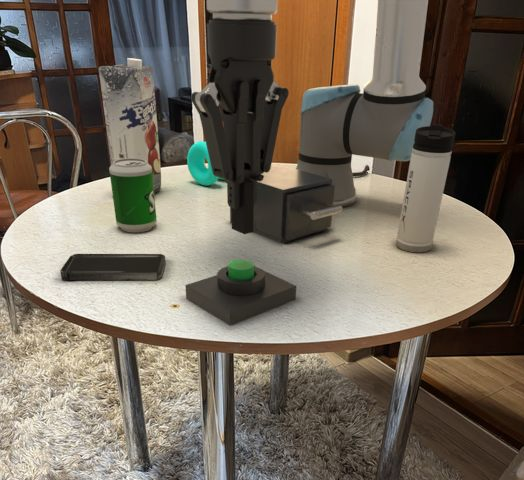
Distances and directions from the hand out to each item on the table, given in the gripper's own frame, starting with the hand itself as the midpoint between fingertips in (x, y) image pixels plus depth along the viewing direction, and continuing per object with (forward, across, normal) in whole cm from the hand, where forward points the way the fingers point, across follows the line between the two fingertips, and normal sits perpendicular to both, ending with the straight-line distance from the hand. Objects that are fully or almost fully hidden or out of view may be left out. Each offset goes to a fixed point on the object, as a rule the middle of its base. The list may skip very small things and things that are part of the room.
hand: (242, 230), depth 67 cm
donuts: (+11, -36, -54) cm, 66 cm away
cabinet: (+10, -26, -20) cm, 34 cm away
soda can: (+10, -4, -36) cm, 38 cm away
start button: (+7, 0, 0) cm, 7 cm away
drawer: (+9, -26, -16) cm, 32 cm away
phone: (+10, +9, -20) cm, 24 cm away
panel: (+10, 0, 0) cm, 10 cm away
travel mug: (+11, -38, +3) cm, 39 cm away
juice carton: (+11, -16, -56) cm, 59 cm away
